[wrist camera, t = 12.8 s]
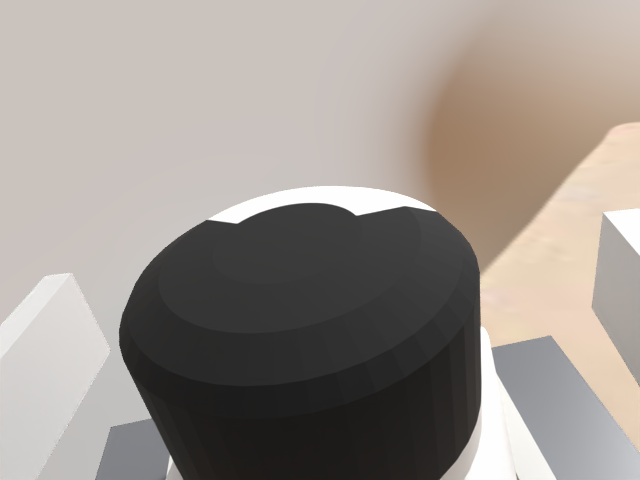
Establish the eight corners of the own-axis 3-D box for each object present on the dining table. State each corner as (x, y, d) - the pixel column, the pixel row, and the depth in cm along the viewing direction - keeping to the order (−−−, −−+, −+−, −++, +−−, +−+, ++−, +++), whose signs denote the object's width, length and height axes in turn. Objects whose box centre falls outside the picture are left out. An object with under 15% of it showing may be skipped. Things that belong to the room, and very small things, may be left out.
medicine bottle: (535, 803, 11) (584, 412, 5) (215, 757, 12) (-54, 414, 6) (489, 487, 17) (485, 136, 11) (277, 481, 18) (170, 171, 12)
